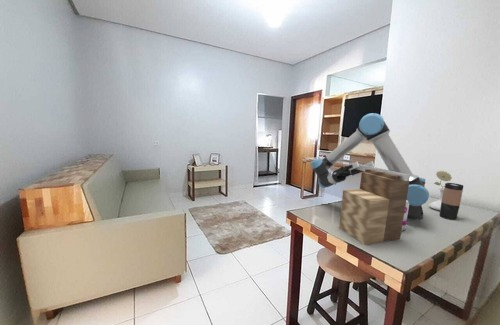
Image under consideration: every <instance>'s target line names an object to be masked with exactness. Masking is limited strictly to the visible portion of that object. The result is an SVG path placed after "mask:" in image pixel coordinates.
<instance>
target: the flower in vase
mask: <svg viewBox="0 0 500 325" xmlns="http://www.w3.org/2000/svg"><path fill="white" fill-rule="evenodd" d="M435 175H436V177H437V178H438V179H439V180H440V182H439V181H436V182H434V183H433V184H434V185H436V186H441V187H438V189H439V192H440V193H439V194H440V197H439V199H438V200H435V201H433V202H430V203H429V204H428V206H429V208H431V209H434V210H436V211H440V208H441V202H442V197H443V192H444V187H445V185H442V182H451V180H452V178H453V177H452V176H451V174H450V173H449V172H447V171H444V170H440V171H439V170H438V171H436V173H435Z"/></svg>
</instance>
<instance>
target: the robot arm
mask: <svg viewBox="0 0 500 325" xmlns="http://www.w3.org/2000/svg"><path fill="white" fill-rule="evenodd" d="M390 132H391V130H390V128H389V126H388V124H386V122H385V119H384V117H383V116H381V114H379V113H376V112H375V113H373V112H372V113H371V112H370V113H367V114H365V115H363V117H362V118H361V119H360V121H359V124H358V127H356V131H355V132H353V133H352V134H351V135H349V137H348V138H346V139H345V140H344V141H343V142H342V143H340V144H339V145H338V146H337V147H335V148H334V149H333V150H332V151H331V152H330V153H329V154H327V155H326V156H325V157H324V158H322V159H321V157H317V158H315V159H313V160H312V161H311V162H310V166H311V168H312V170H313V171H314V173H315V174H316V176H317V179H318V180H317V182H318V183H317V185H318V186H319V187H320V188H324V189H326V188H329V187H331V186H334V185H335V186H336V185H337V184H339V183H342V182H343V181H345V180H346V179H347V177H350V176H355V175H357V174H362V172H365V171H361V170H357V169H355V168H357V167H359V164H360V163H359V161H353V162H351V163H352V164H350V165H349V164H347V165H346V166H341V167H339V168H337V169H335V170H332V171H331V172H329V169H331V167H332V166H334V165H335V164H337V162H339V161H341V159H342V158H344V157H346V155H347V154H349V153H350V152H352V151H353V150H354V149H355V148H356V147H357V146H359V145H360V144H361V143H363V142H364V141H365V140H367V142H371V143H372V144H373V146H374V148H375V149H376V151H377V153H378V155H379V156H380V158H381V159H382V161H383V162H384V164H385V167H386V168H387V170H390V171H394V172H399V173H404V174H409V175H410V178H409V179H410V181H409V187H408V193H407V200H408V202H409V209H408V215H407V219H412V220H423V218H424V210H423V205H425V204H426V203H427V201H428V200H429V196H430V193H429V191H428V189H427V188H426V187H425V184H426V179H425V178H423V177H419V175H417V174H414V173H413V172H412V171H411V169H410V167H409V166H408V164H407V162H406V160H405V159H404V157H403V156H402V154H401V152H400V151H399V149H398V147H397V146H396V144H395V143H394V141H393V139H392V138H391V136H390ZM362 165H366V166H371V167H375V164H374V161H373V160H371V161H369V162H367V163H365V164H362Z"/></svg>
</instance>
